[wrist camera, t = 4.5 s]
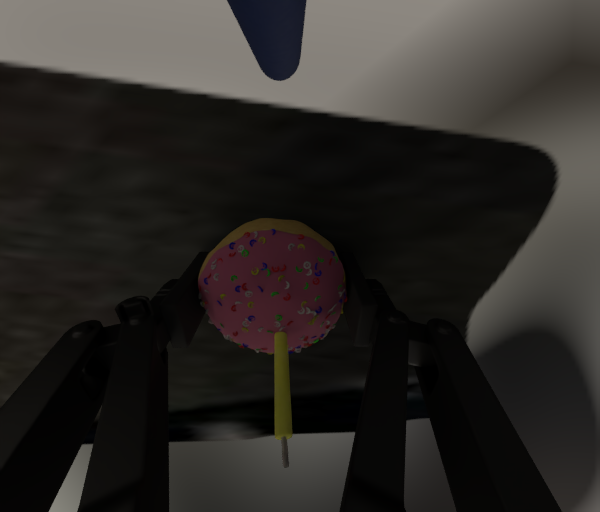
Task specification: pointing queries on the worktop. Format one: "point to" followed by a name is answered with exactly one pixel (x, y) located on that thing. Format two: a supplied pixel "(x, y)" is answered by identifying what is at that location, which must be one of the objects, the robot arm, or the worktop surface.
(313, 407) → the worktop surface
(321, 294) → the cupcake
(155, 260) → the worktop surface
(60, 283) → the worktop surface
